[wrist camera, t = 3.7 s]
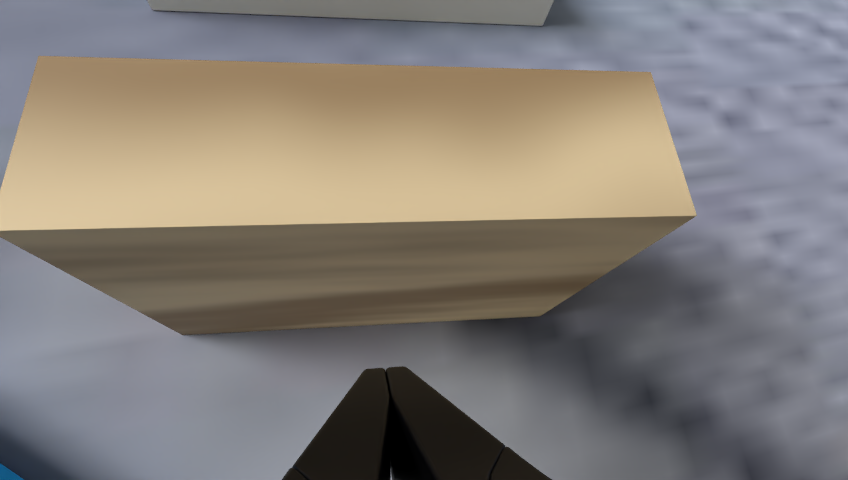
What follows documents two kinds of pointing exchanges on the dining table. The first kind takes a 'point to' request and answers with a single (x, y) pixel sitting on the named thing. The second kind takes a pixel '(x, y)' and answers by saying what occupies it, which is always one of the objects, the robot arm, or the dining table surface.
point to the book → (8, 474)
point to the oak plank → (337, 187)
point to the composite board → (378, 9)
